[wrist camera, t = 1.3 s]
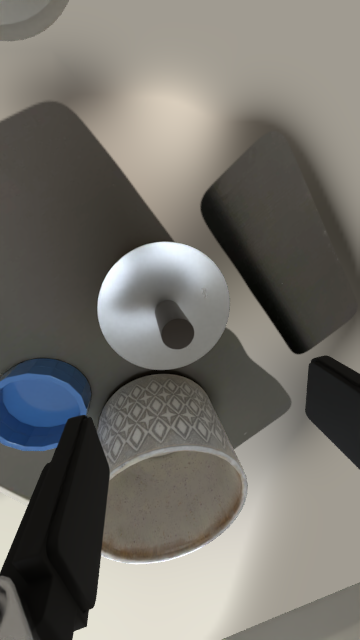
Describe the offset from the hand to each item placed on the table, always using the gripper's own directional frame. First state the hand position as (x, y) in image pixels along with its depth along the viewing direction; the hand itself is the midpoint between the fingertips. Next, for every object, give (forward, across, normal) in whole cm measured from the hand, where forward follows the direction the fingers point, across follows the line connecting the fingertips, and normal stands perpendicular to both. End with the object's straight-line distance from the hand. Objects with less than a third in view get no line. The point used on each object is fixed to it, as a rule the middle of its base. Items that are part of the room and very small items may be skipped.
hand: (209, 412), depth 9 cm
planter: (+24, +4, +21) cm, 32 cm away
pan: (+23, +19, +12) cm, 32 cm away
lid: (+15, 0, 0) cm, 15 cm away
